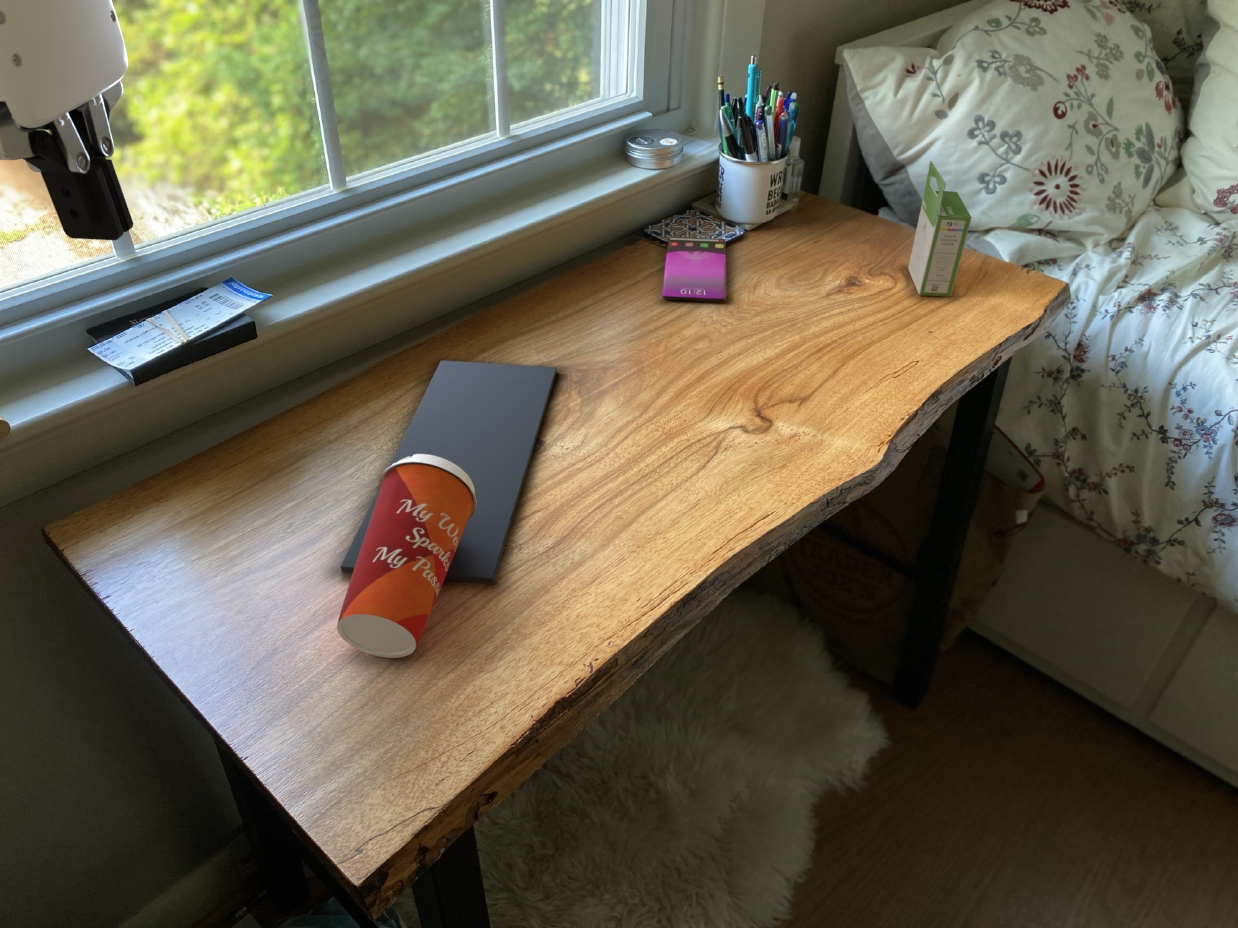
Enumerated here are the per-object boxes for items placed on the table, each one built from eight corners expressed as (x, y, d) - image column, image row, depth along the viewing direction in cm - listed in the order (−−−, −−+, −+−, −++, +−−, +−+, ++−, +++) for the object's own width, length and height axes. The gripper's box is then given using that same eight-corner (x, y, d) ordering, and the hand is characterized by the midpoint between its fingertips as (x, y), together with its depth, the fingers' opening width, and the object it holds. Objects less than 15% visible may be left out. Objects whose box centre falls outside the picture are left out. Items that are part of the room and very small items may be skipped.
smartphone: (725, 245, 117) (726, 238, 116) (725, 303, 105) (726, 296, 105) (668, 243, 118) (668, 236, 117) (661, 300, 106) (661, 293, 105)
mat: (493, 584, 71) (492, 578, 71) (341, 572, 72) (340, 566, 72) (556, 371, 95) (556, 366, 94) (441, 365, 96) (440, 360, 95)
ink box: (953, 298, 106) (981, 184, 98) (917, 297, 107) (942, 183, 98) (940, 270, 112) (965, 160, 104) (906, 269, 112) (929, 159, 104)
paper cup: (375, 594, 59) (435, 436, 69) (297, 619, 63) (363, 466, 72) (456, 654, 64) (501, 499, 73) (378, 674, 68) (431, 524, 77)
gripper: (-15, -171, 47) (109, 180, 59) (-265, -137, 36) (-50, 293, 47) (125, -170, 47) (223, 185, 58) (-83, -135, 35) (91, 300, 46)
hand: (101, 232), depth 53 cm, fingers closed
